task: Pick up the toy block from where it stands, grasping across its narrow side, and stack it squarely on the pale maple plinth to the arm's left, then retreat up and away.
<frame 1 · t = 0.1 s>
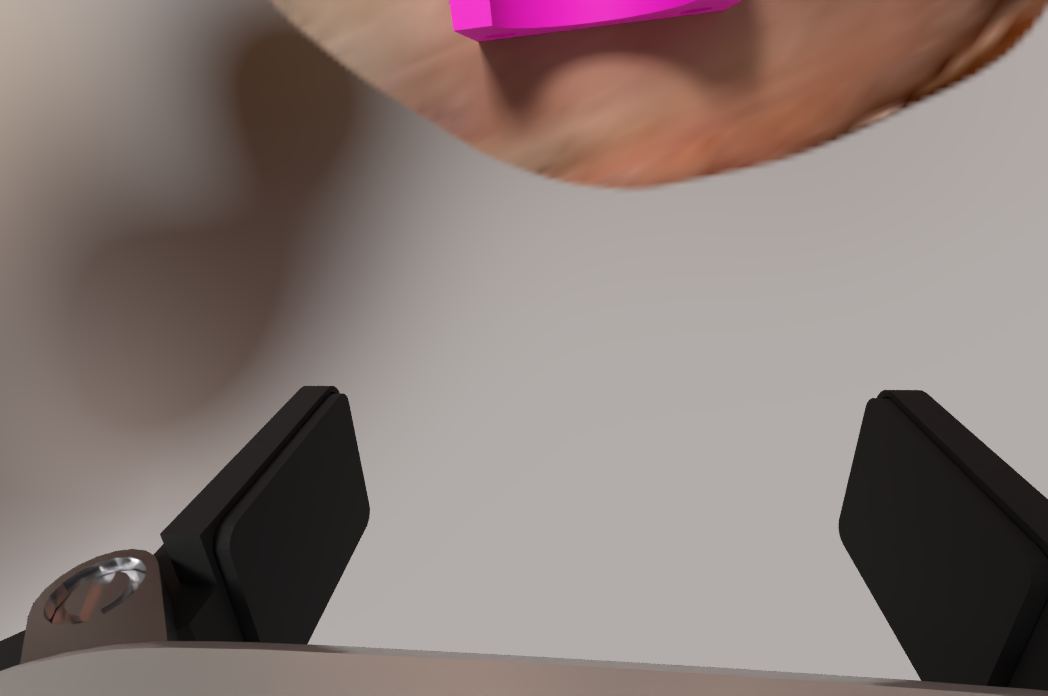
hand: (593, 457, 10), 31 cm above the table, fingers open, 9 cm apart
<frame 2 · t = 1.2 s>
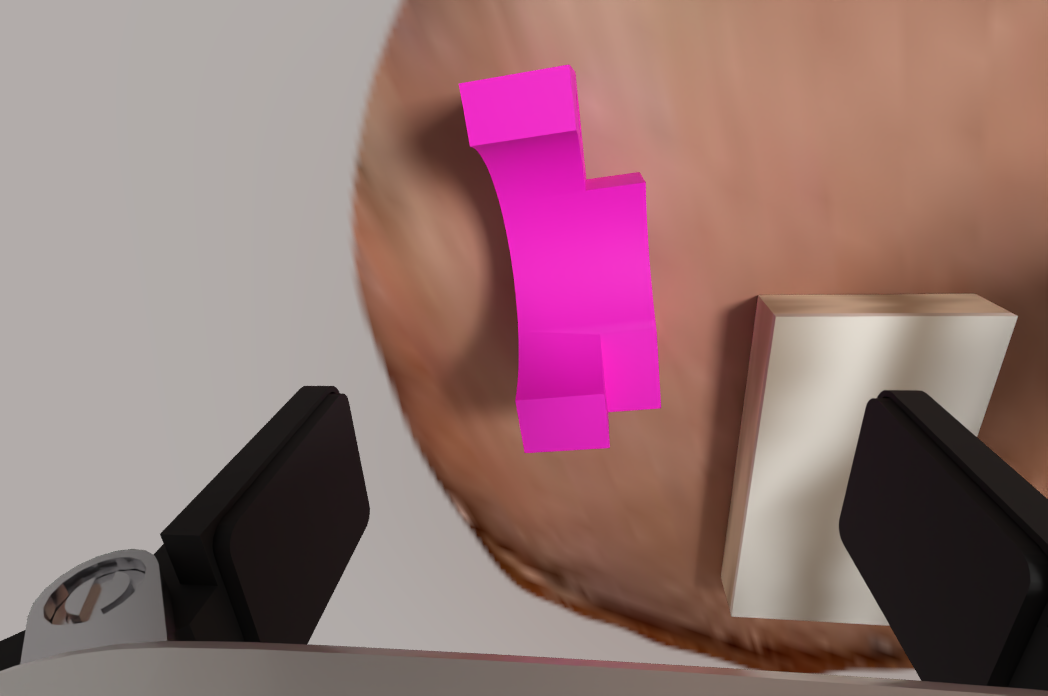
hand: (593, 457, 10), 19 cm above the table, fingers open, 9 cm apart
plinth: (829, 455, 31), on the table
toy block: (579, 237, 28), on the table
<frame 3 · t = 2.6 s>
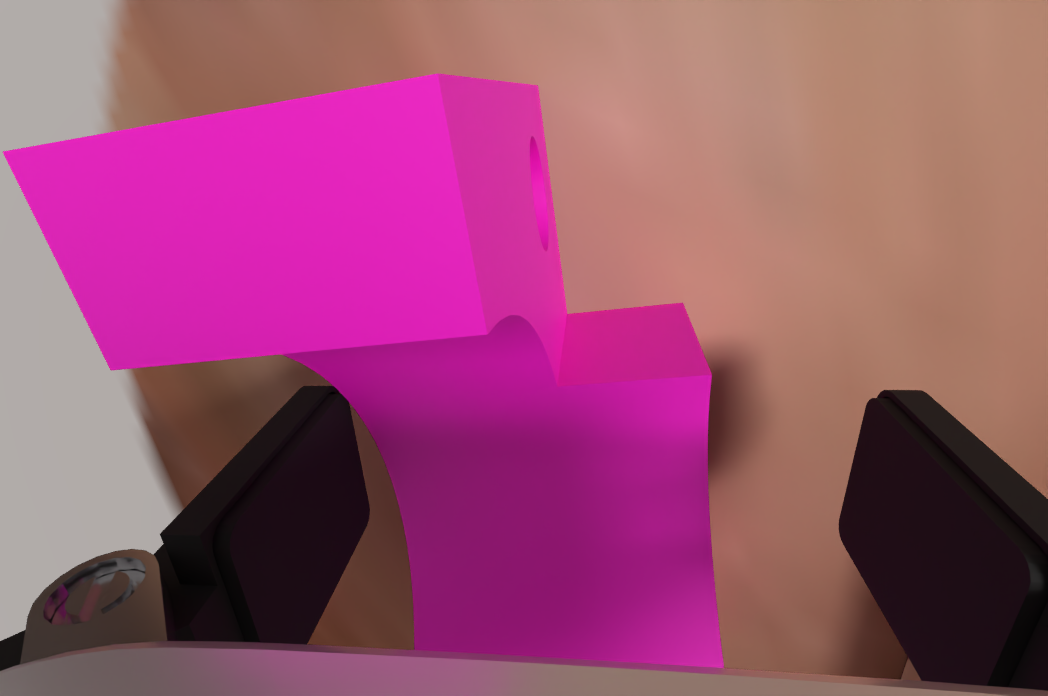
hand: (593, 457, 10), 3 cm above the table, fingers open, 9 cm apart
toy block: (556, 417, 14), on the table
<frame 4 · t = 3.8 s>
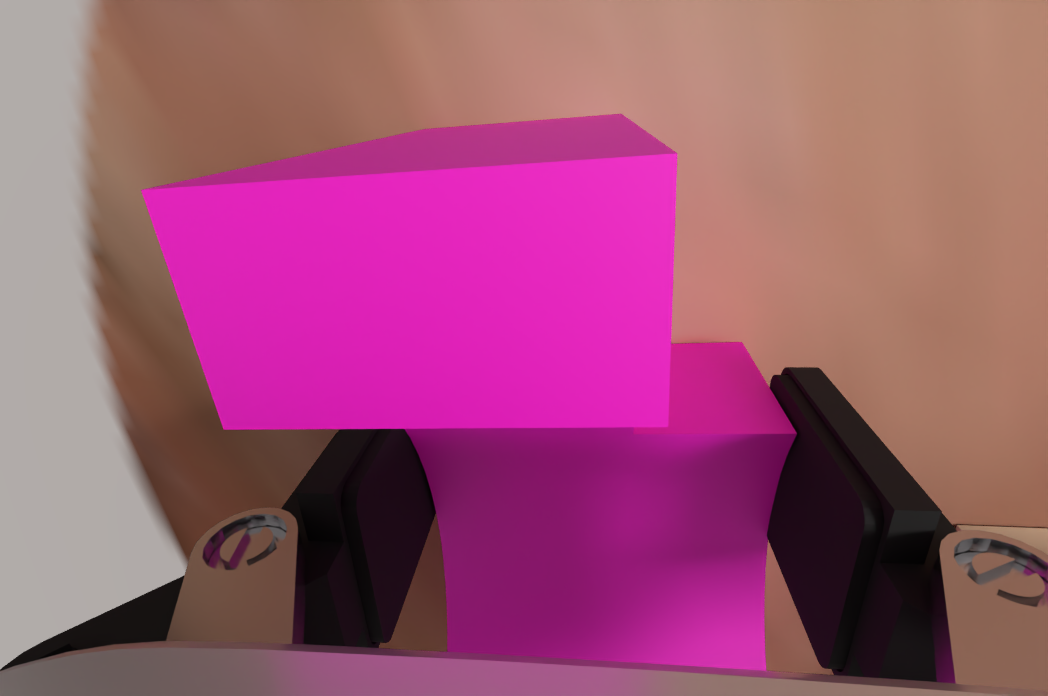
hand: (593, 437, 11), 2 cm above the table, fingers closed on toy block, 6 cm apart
toy block: (596, 448, 14), on the table, touching gripper
when the fingers open (6 cm above the table, at t = 9.3 s): toy block drops 1 cm, resting on plinth.
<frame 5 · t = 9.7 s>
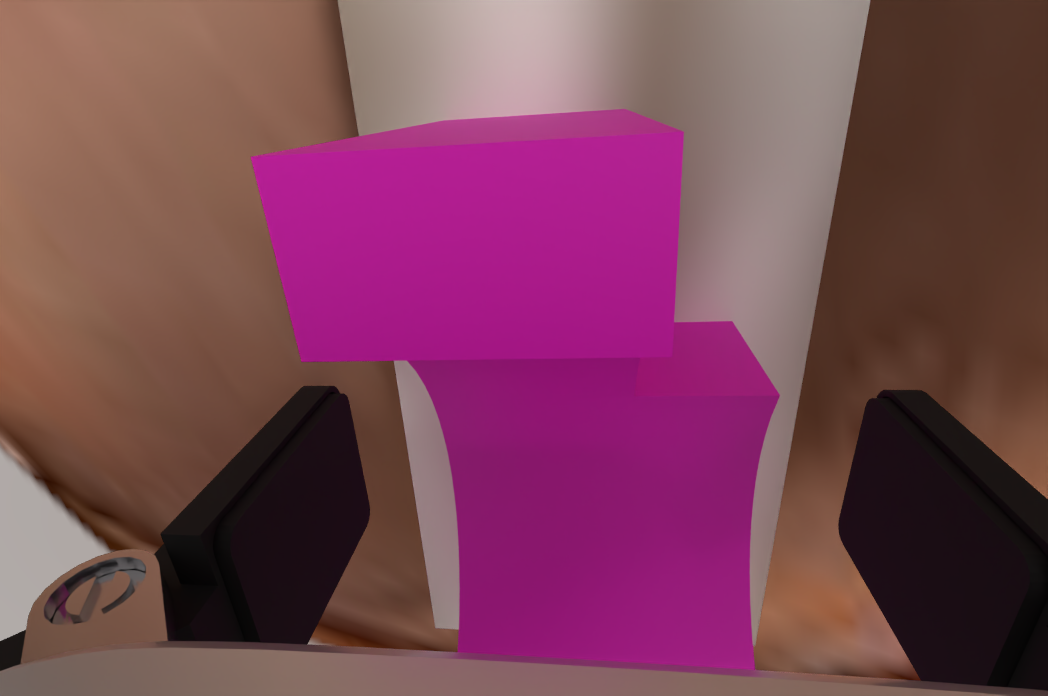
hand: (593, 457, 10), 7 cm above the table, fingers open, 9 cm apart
plinth: (590, 321, 16), on the table
toy block: (596, 421, 15), point 3 cm above the table, touching plinth
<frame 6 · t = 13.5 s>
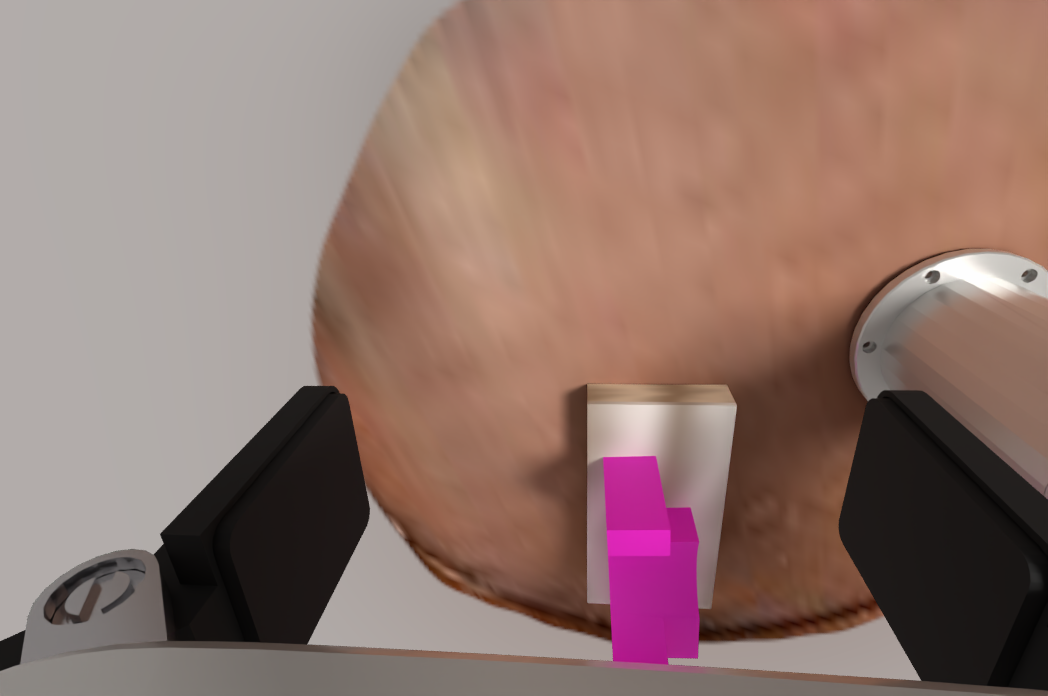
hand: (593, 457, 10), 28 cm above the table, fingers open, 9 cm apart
plinth: (650, 489, 45), on the table
toy block: (647, 535, 43), point 3 cm above the table, touching plinth
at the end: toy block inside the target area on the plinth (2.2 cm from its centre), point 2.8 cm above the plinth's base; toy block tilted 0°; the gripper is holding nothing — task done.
